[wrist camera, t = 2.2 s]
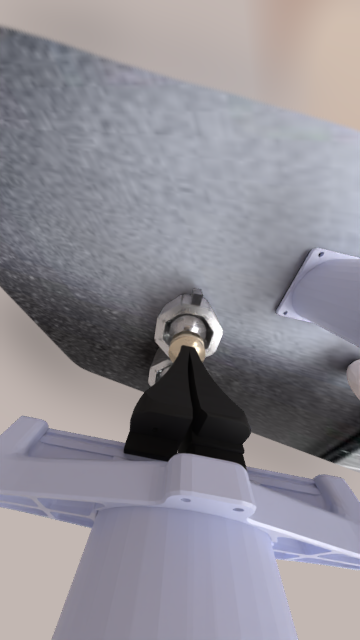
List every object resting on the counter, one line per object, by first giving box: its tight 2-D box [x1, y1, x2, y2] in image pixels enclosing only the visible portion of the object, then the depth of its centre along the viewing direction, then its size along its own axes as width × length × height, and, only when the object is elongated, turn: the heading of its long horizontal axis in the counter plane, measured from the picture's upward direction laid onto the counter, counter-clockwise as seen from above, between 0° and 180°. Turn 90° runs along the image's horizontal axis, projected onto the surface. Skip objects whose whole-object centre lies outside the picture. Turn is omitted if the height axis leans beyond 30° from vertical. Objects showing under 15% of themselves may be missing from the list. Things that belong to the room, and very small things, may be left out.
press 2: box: [154, 288, 223, 357], centre depth 17 cm, size 8×9×4 cm
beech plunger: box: [168, 314, 206, 363], centre depth 15 cm, size 5×5×5 cm
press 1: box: [148, 348, 173, 386], centre depth 21 cm, size 8×9×4 cm
